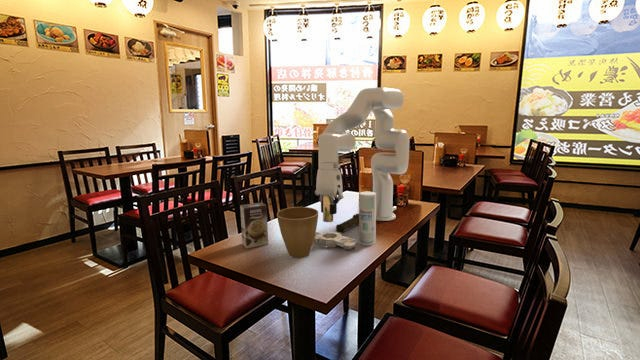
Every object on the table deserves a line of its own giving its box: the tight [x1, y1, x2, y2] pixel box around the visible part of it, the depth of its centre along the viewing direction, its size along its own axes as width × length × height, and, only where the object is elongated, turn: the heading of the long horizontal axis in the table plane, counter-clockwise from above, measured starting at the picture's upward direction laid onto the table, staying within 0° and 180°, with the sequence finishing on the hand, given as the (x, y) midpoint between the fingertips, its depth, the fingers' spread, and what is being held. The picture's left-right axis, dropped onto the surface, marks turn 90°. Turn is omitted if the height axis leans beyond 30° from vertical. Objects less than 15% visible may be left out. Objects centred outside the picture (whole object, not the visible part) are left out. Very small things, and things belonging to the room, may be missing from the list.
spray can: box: [358, 190, 377, 246], centre depth 137 cm, size 6×6×20 cm
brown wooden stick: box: [335, 213, 359, 234], centre depth 158 cm, size 19×4×5 cm, turn 142°
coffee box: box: [239, 202, 269, 249], centre depth 139 cm, size 9×6×16 cm
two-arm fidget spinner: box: [313, 231, 357, 251], centre depth 140 cm, size 9×24×3 cm, turn 47°
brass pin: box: [322, 195, 334, 223], centre depth 137 cm, size 4×4×10 cm
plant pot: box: [276, 206, 319, 259], centre depth 128 cm, size 15×15×16 cm
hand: (328, 212), depth 137 cm, fingers closed on brass pin, 4 cm apart
